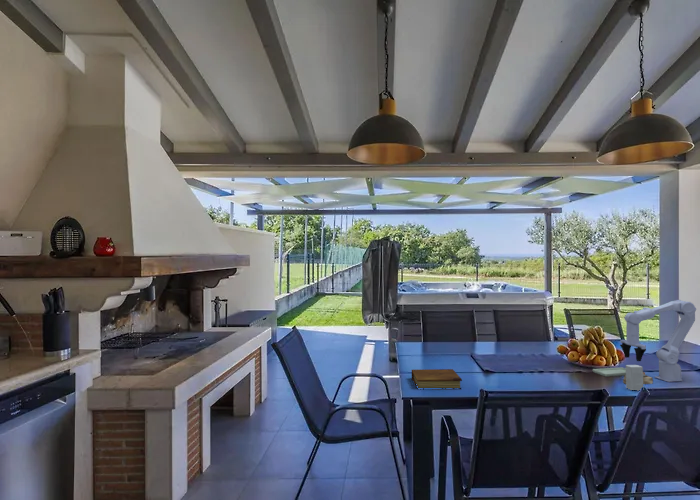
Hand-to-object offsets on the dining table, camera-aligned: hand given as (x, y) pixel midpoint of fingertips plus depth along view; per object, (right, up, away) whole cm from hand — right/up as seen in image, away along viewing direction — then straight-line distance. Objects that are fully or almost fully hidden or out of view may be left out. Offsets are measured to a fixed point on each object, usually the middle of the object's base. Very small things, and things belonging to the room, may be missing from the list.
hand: (632, 359), depth 219 cm
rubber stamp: (0, -10, -8) cm, 13 cm away
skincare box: (-13, -10, -19) cm, 25 cm away
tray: (-5, -10, +8) cm, 14 cm away
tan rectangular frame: (-3, -10, -9) cm, 14 cm away
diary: (-111, -12, -6) cm, 112 cm away
